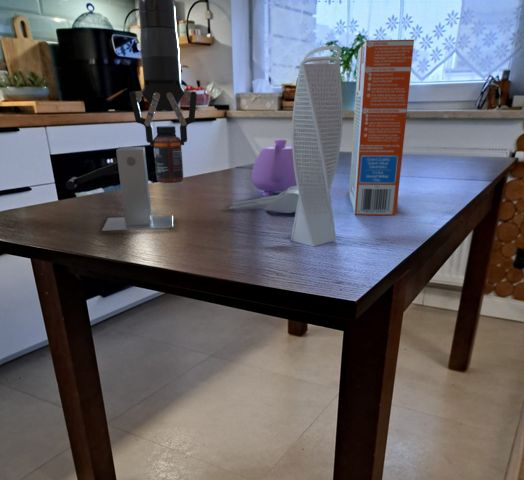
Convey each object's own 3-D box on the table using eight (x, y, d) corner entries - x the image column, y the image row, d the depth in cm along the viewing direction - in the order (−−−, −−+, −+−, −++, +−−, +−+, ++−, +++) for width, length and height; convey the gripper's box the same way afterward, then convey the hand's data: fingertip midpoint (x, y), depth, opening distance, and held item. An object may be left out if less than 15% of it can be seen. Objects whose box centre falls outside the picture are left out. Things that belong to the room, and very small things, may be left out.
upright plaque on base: (102, 237, 89) (90, 152, 82) (109, 224, 97) (98, 146, 91) (173, 234, 90) (166, 150, 84) (173, 221, 99) (166, 144, 93)
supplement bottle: (187, 180, 117) (184, 125, 112) (178, 183, 111) (175, 126, 106) (162, 179, 118) (157, 125, 113) (152, 183, 112) (147, 126, 107)
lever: (69, 193, 87) (62, 180, 86) (74, 189, 91) (67, 175, 90) (141, 165, 87) (135, 150, 86) (143, 161, 91) (137, 148, 90)
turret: (236, 216, 113) (231, 194, 111) (327, 203, 109) (324, 180, 107) (226, 226, 104) (221, 202, 102) (325, 213, 100) (322, 188, 98)
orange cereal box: (396, 215, 102) (414, 39, 89) (354, 215, 103) (366, 40, 90) (383, 195, 123) (396, 49, 109) (349, 195, 123) (358, 50, 110)
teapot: (308, 201, 117) (309, 143, 112) (246, 200, 118) (244, 143, 113) (309, 186, 135) (311, 136, 129) (255, 186, 136) (255, 136, 131)
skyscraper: (313, 232, 90) (319, 47, 78) (347, 240, 85) (359, 44, 73) (281, 240, 85) (282, 45, 73) (314, 249, 80) (322, 41, 68)
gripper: (195, 57, 108) (199, 143, 116) (125, 56, 106) (134, 144, 114) (197, 54, 102) (201, 146, 109) (122, 53, 100) (131, 147, 107)
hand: (167, 144), depth 111 cm, fingers closed on supplement bottle, 6 cm apart
